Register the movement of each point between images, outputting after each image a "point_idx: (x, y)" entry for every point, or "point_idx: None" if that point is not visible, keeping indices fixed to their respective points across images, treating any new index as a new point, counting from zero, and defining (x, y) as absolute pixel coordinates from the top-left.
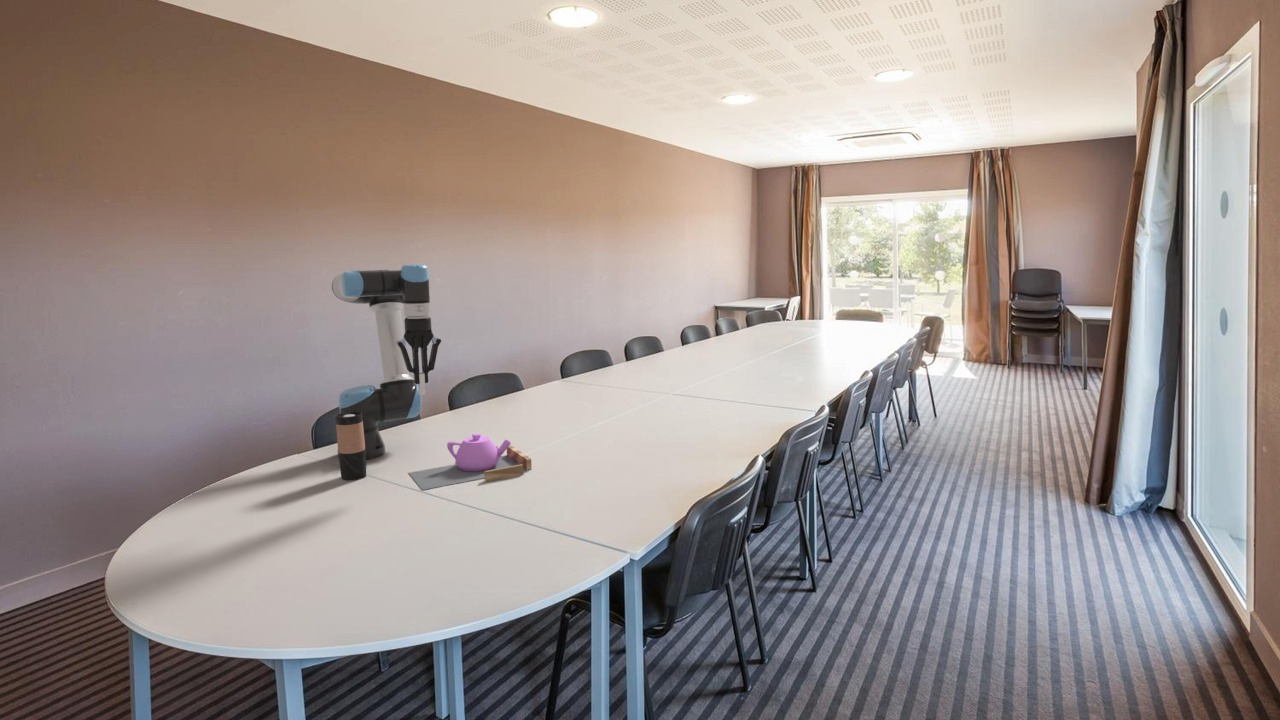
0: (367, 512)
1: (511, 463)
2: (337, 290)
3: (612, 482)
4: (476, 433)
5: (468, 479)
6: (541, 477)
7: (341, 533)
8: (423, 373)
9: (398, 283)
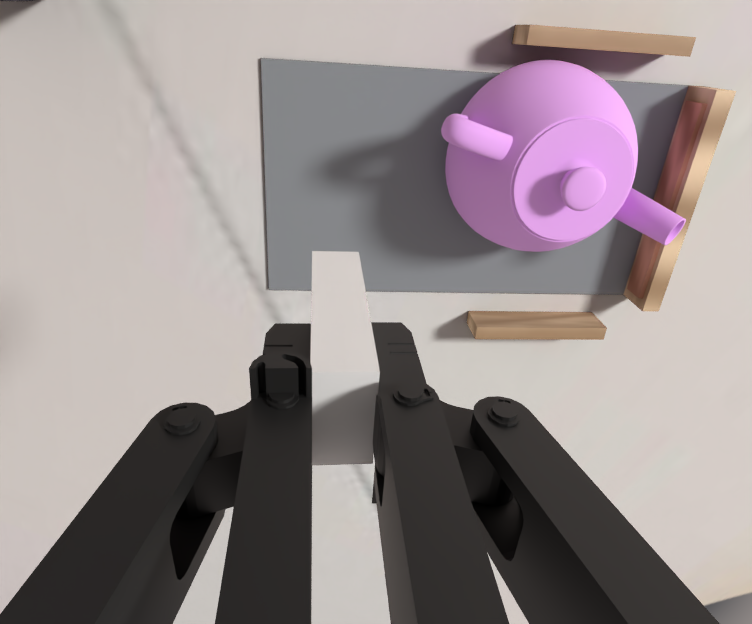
0: (87, 371)
1: None
2: None
3: (698, 482)
4: (593, 177)
5: (429, 279)
6: (607, 371)
7: (24, 462)
8: (362, 457)
9: None
